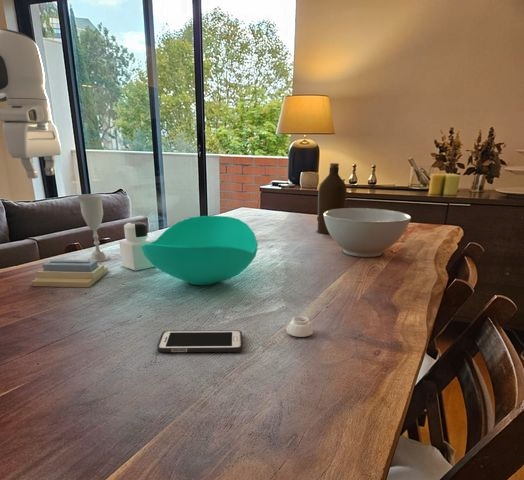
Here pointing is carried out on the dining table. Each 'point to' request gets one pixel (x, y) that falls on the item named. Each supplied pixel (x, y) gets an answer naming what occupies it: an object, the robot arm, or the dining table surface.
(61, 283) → the base pad
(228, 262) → the table top decor
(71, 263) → the blue pad
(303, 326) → the lidless jar
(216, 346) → the cell phone
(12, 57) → the robot arm
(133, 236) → the medicine bottle
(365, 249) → the decorative bowl
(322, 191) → the olive oil
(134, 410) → the dining table surface
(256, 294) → the dining table surface
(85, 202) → the chalice
